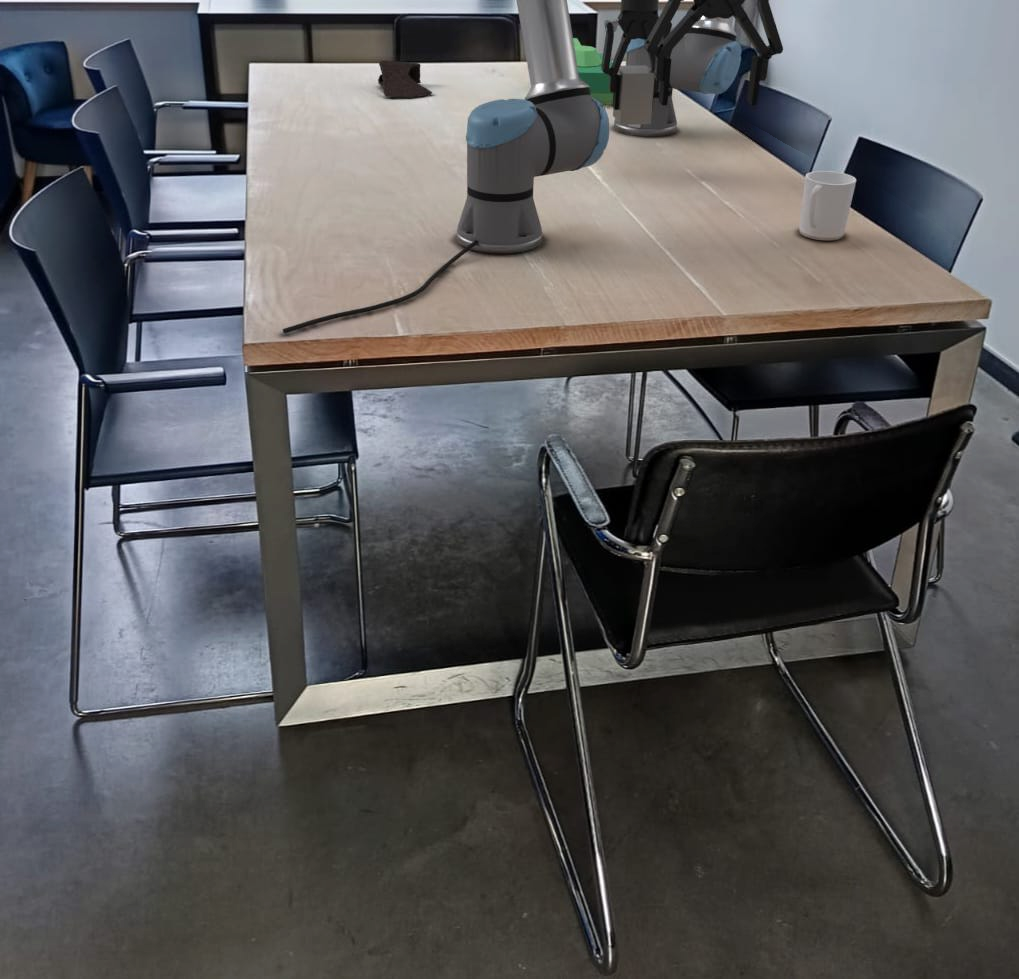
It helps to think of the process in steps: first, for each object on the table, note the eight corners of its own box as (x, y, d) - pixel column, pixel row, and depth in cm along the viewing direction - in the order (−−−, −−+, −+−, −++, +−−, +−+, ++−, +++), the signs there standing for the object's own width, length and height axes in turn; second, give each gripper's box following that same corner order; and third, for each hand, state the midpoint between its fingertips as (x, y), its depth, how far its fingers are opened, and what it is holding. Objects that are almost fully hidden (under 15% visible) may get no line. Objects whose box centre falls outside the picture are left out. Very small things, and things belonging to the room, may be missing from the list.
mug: (809, 222, 208) (818, 168, 202) (854, 233, 203) (864, 177, 197) (782, 236, 200) (791, 180, 195) (827, 247, 195) (838, 190, 190)
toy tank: (604, 35, 312) (620, 58, 282) (601, 80, 318) (617, 107, 288) (542, 33, 311) (552, 56, 281) (541, 79, 317) (550, 106, 288)
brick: (650, 124, 229) (654, 73, 223) (619, 124, 228) (623, 73, 223) (642, 115, 235) (646, 65, 230) (612, 115, 235) (615, 65, 229)
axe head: (443, 87, 294) (392, 77, 287) (436, 115, 299) (385, 106, 292) (421, 62, 307) (371, 52, 300) (414, 89, 311) (365, 80, 304)
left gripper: (802, -56, 157) (780, 97, 168) (631, -58, 155) (620, 97, 166) (820, -50, 151) (795, 108, 162) (642, -53, 149) (630, 109, 160)
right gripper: (683, -14, 222) (673, 103, 234) (589, -14, 220) (583, 104, 232) (693, -9, 216) (682, 111, 228) (595, -9, 214) (589, 113, 226)
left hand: (707, 103), depth 164 cm, fingers open, 13 cm apart
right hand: (632, 107), depth 230 cm, fingers closed on brick, 7 cm apart
